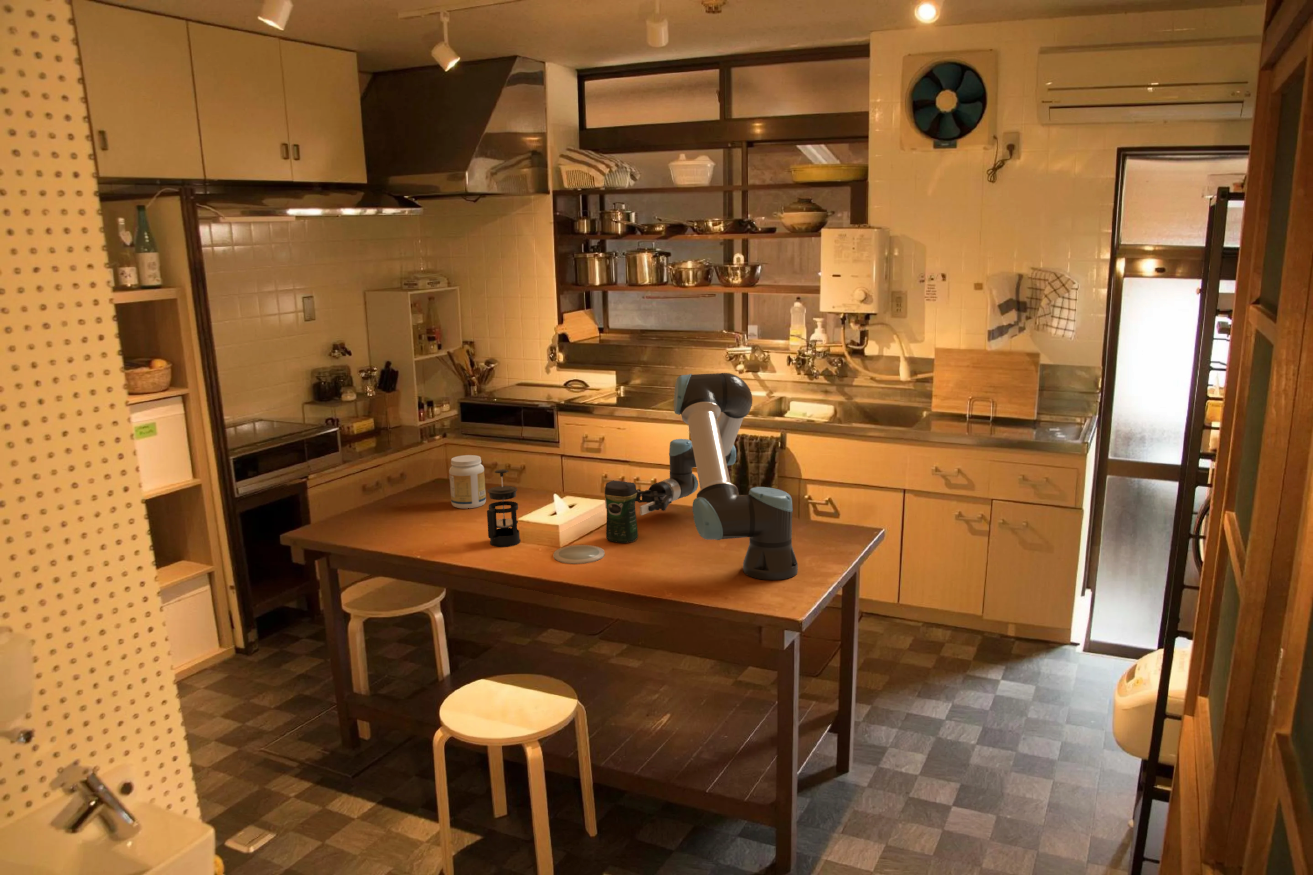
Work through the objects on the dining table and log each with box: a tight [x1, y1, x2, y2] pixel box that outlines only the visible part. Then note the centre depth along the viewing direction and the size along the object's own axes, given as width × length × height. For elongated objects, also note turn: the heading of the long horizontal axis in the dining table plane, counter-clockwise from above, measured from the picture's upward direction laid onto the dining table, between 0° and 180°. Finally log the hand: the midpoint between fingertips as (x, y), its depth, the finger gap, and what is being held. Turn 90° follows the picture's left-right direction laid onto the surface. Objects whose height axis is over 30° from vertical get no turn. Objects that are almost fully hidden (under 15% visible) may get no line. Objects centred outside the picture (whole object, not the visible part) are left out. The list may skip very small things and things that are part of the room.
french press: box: [486, 468, 521, 548], centre depth 292 cm, size 12×9×23 cm
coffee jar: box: [604, 479, 639, 544], centre depth 293 cm, size 10×8×19 cm
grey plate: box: [553, 544, 605, 565], centre depth 281 cm, size 15×15×1 cm
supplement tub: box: [448, 454, 487, 510], centre depth 335 cm, size 12×12×17 cm
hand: (623, 507), depth 294 cm, fingers open, 13 cm apart
